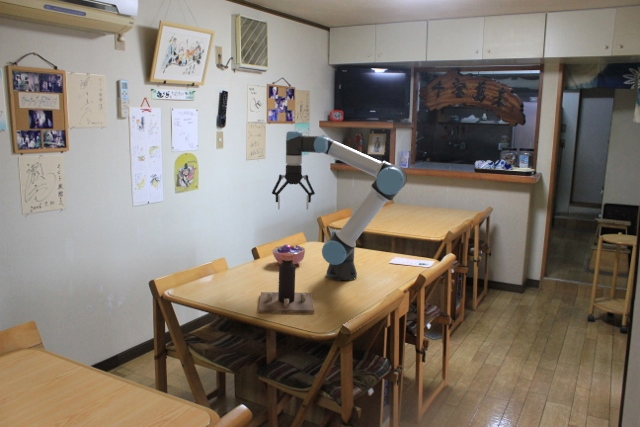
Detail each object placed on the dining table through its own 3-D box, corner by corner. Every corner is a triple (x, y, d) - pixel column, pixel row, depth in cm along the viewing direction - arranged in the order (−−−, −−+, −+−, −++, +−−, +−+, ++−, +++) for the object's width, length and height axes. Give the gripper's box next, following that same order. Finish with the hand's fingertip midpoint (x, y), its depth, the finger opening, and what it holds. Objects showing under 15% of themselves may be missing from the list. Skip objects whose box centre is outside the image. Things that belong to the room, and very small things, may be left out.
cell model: (312, 263, 292) (312, 243, 290) (290, 271, 275) (291, 249, 273) (286, 258, 301) (287, 238, 299) (264, 265, 284) (265, 244, 282)
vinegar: (288, 304, 220) (289, 257, 217) (274, 301, 224) (276, 254, 220) (297, 300, 226) (299, 253, 223) (284, 296, 229) (285, 251, 226)
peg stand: (310, 296, 237) (311, 286, 236) (313, 313, 215) (314, 302, 214) (260, 295, 235) (260, 285, 234) (258, 313, 213) (258, 302, 212)
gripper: (319, 164, 257) (318, 208, 260) (267, 163, 255) (266, 207, 258) (320, 165, 249) (319, 210, 253) (266, 164, 247) (266, 210, 251)
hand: (293, 209), depth 255 cm, fingers open, 13 cm apart
